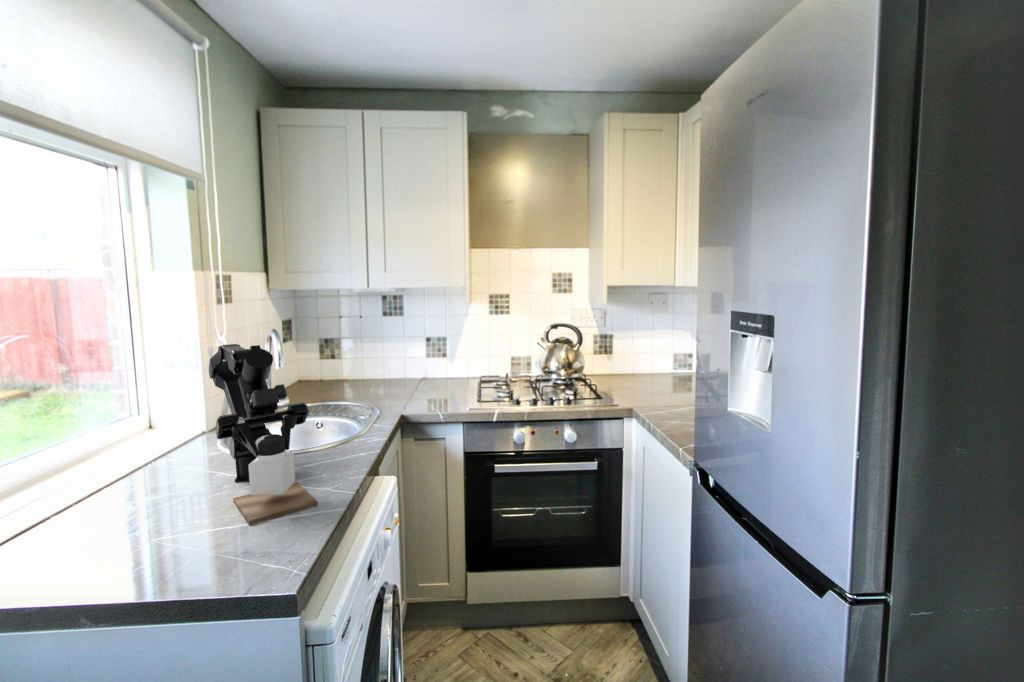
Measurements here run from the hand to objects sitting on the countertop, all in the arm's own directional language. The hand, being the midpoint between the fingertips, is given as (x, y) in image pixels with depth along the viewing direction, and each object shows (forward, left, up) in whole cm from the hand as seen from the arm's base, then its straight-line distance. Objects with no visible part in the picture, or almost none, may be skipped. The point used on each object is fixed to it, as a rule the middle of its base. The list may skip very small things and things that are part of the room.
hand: (272, 452), depth 114 cm
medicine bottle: (-1, +1, -9) cm, 9 cm away
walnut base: (-1, +1, -12) cm, 12 cm away
